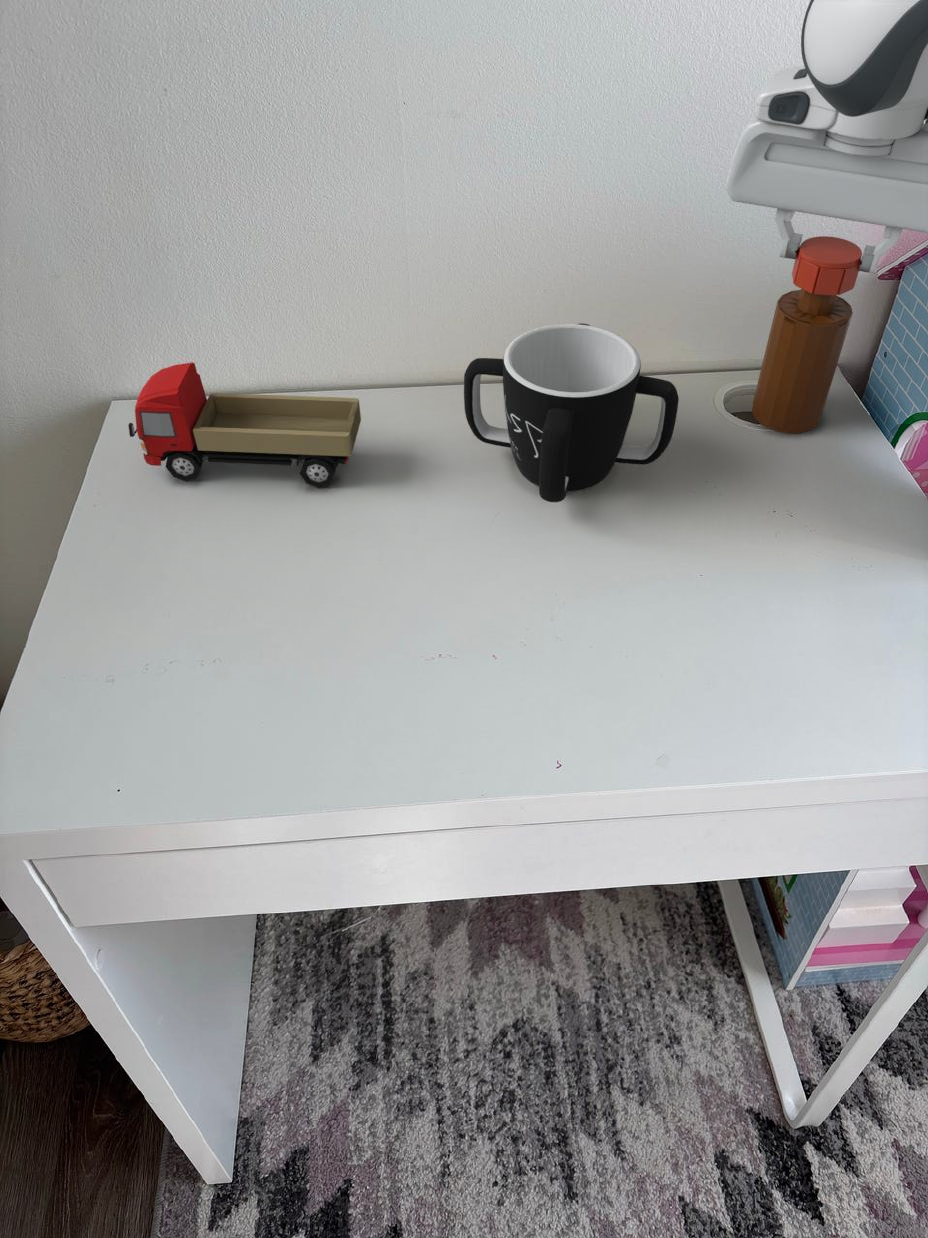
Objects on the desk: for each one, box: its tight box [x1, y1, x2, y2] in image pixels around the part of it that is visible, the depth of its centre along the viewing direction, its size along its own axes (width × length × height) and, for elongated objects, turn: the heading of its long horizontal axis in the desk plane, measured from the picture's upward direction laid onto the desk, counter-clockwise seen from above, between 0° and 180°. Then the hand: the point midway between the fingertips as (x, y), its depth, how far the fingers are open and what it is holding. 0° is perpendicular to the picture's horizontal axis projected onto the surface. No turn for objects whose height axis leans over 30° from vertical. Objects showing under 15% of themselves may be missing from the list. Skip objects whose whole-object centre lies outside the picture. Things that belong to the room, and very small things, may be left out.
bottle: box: [751, 288, 854, 434], centre depth 94 cm, size 7×7×16 cm
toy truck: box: [128, 361, 362, 489], centre depth 91 cm, size 7×21×10 cm, turn 85°
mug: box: [463, 322, 680, 503], centre depth 90 cm, size 16×16×12 cm
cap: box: [791, 235, 863, 296], centre depth 88 cm, size 5×5×3 cm
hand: (826, 262), depth 88 cm, fingers closed on cap, 5 cm apart
